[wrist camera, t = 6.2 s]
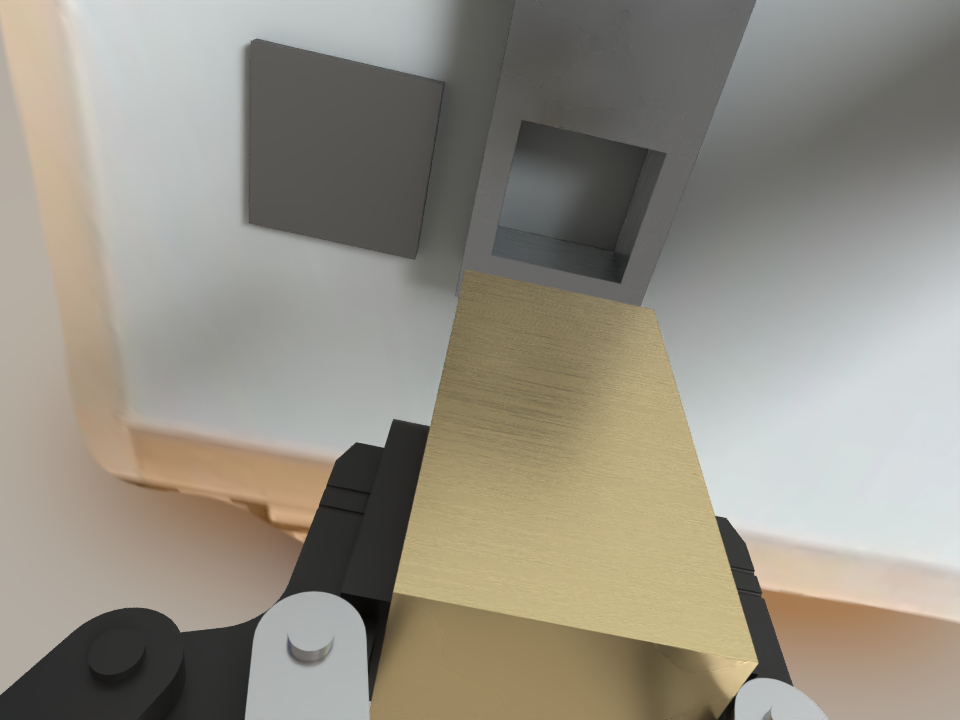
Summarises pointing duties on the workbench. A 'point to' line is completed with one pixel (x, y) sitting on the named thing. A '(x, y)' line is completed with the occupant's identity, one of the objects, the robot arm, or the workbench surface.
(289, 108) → the pad
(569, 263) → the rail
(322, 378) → the workbench surface
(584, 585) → the tan wooden beam
